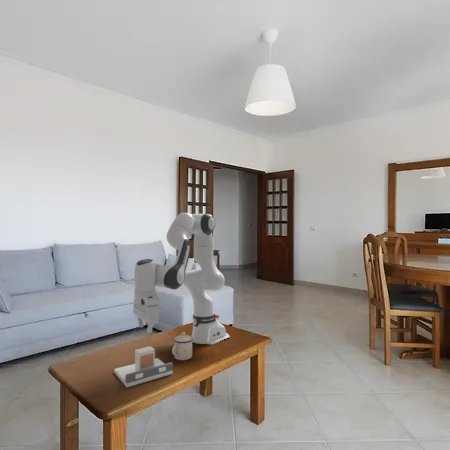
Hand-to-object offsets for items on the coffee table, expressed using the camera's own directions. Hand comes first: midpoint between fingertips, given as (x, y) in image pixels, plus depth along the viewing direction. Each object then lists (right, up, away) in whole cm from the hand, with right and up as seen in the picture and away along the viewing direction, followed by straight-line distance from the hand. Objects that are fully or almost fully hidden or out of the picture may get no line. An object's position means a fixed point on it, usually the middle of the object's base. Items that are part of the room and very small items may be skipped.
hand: (145, 329), depth 135 cm
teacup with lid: (+13, -20, +17) cm, 29 cm away
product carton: (0, -18, 0) cm, 18 cm away
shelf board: (-1, -19, +1) cm, 19 cm away
